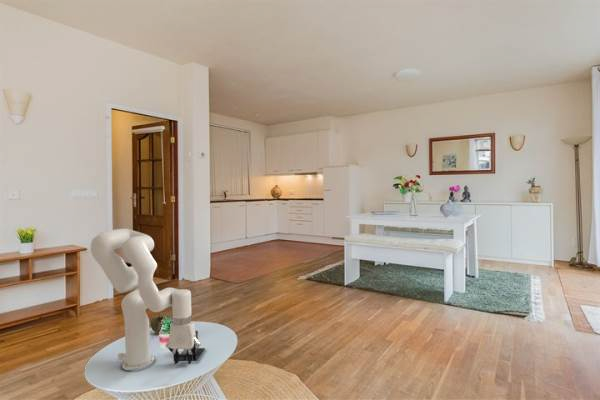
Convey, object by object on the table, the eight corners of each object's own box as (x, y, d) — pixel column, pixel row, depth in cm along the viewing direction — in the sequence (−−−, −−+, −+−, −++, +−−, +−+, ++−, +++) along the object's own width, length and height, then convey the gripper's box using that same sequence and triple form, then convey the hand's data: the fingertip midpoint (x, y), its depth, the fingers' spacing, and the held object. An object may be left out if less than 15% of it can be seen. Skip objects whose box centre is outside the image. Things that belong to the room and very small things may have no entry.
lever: (189, 359, 142) (188, 355, 141) (177, 359, 143) (176, 355, 141) (197, 336, 153) (196, 332, 152) (186, 336, 153) (185, 332, 152)
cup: (147, 335, 175) (146, 319, 175) (158, 329, 181) (158, 315, 181) (157, 337, 172) (157, 322, 171) (169, 332, 178) (168, 317, 178)
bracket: (197, 362, 146) (196, 338, 146) (176, 362, 146) (175, 338, 146) (205, 350, 157) (204, 327, 157) (185, 350, 157) (185, 327, 157)
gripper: (158, 323, 138) (159, 367, 139) (199, 323, 138) (200, 367, 139) (166, 316, 146) (167, 358, 147) (205, 316, 145) (206, 358, 146)
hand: (183, 362), depth 143 cm, fingers closed on lever, 5 cm apart
